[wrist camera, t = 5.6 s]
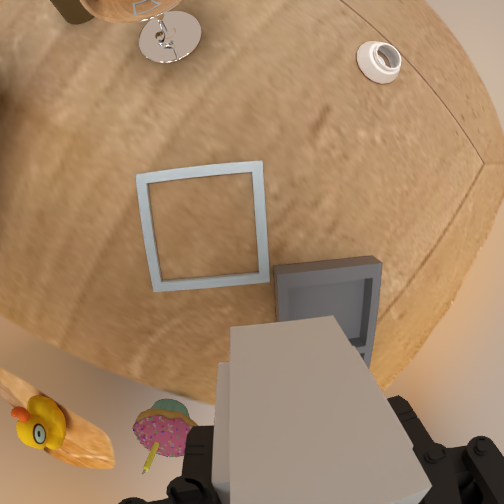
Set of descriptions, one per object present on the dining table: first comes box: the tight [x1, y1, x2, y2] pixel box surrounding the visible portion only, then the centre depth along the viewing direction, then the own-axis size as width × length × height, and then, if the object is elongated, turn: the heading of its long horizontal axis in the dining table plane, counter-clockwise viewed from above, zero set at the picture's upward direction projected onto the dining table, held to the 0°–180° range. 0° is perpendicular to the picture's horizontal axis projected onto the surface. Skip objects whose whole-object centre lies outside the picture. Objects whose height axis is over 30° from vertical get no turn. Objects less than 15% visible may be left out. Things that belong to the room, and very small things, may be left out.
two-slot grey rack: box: [273, 256, 382, 369], centre depth 33 cm, size 11×21×2 cm, turn 4°
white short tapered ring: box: [357, 41, 401, 84], centre depth 24 cm, size 5×3×5 cm
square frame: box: [136, 161, 270, 292], centre depth 29 cm, size 12×12×1 cm
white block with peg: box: [229, 315, 432, 504], centre depth 9 cm, size 5×5×12 cm
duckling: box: [11, 395, 66, 450], centre depth 30 cm, size 11×5×10 cm, turn 4°
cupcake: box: [133, 399, 198, 474], centre depth 30 cm, size 9×8×12 cm
